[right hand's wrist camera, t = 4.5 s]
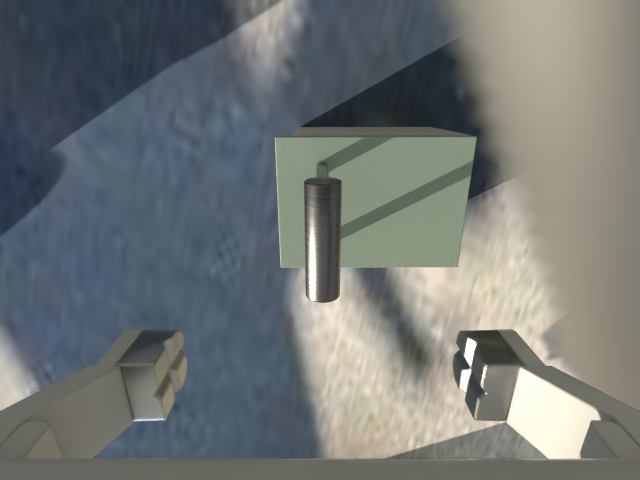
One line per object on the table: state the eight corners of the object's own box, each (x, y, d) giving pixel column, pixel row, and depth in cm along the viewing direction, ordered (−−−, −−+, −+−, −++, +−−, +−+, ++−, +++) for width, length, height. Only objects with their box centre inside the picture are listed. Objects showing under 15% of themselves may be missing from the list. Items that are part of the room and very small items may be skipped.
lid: (282, 261, 27) (266, 327, 19) (276, 135, 24) (255, 151, 16) (452, 260, 27) (508, 326, 19) (470, 134, 24) (547, 150, 16)
